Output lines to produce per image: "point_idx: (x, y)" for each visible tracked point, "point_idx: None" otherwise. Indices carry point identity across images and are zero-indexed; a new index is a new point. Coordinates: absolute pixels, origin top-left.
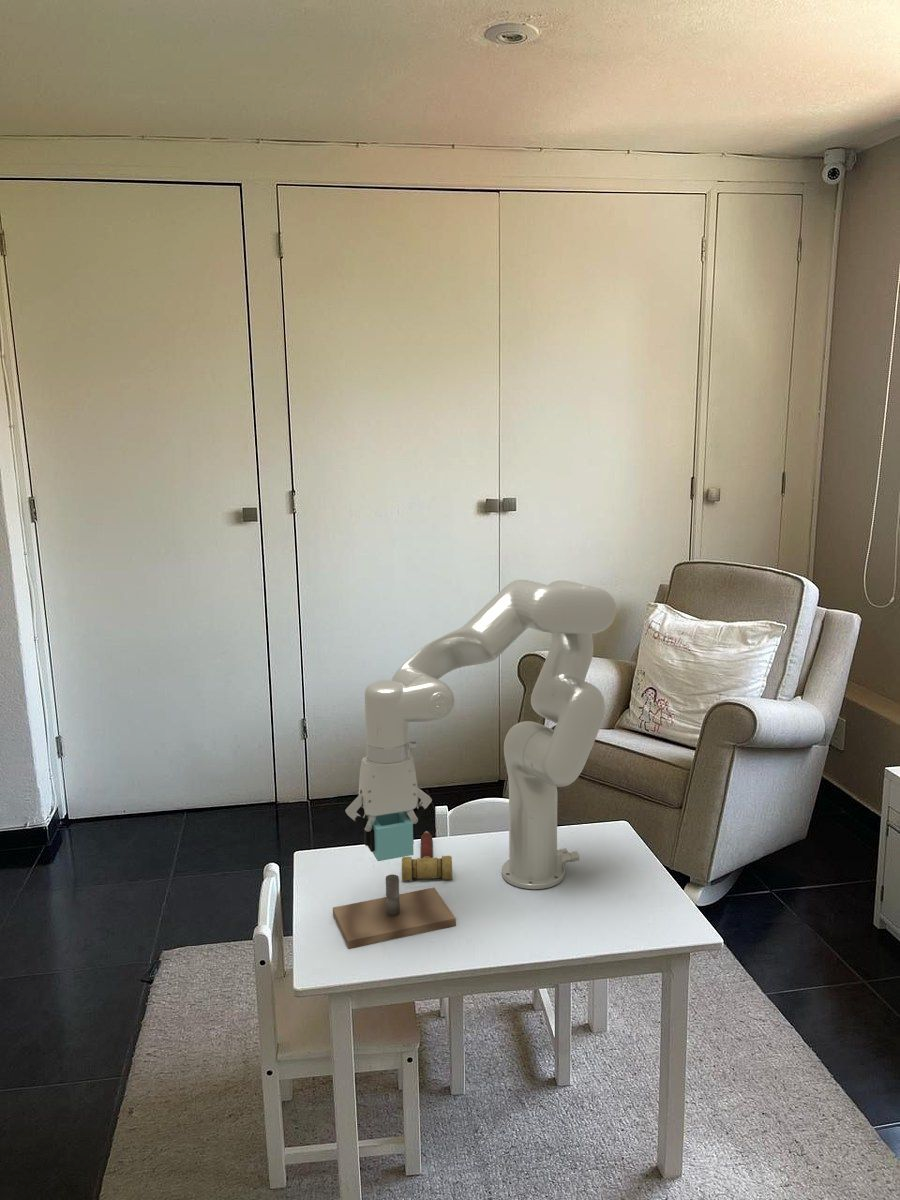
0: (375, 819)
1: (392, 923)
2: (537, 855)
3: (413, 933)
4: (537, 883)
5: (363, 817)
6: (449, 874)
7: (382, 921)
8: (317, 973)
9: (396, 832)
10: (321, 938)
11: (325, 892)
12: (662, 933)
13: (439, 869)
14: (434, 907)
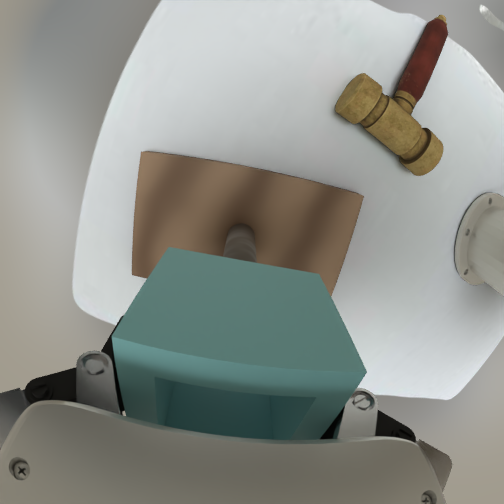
0: (148, 404)
1: None
2: (497, 291)
3: None
4: (468, 278)
5: (77, 389)
6: (412, 172)
7: (207, 253)
8: (88, 295)
9: None
10: (107, 216)
11: (171, 62)
12: (445, 387)
13: (405, 156)
14: (319, 262)
